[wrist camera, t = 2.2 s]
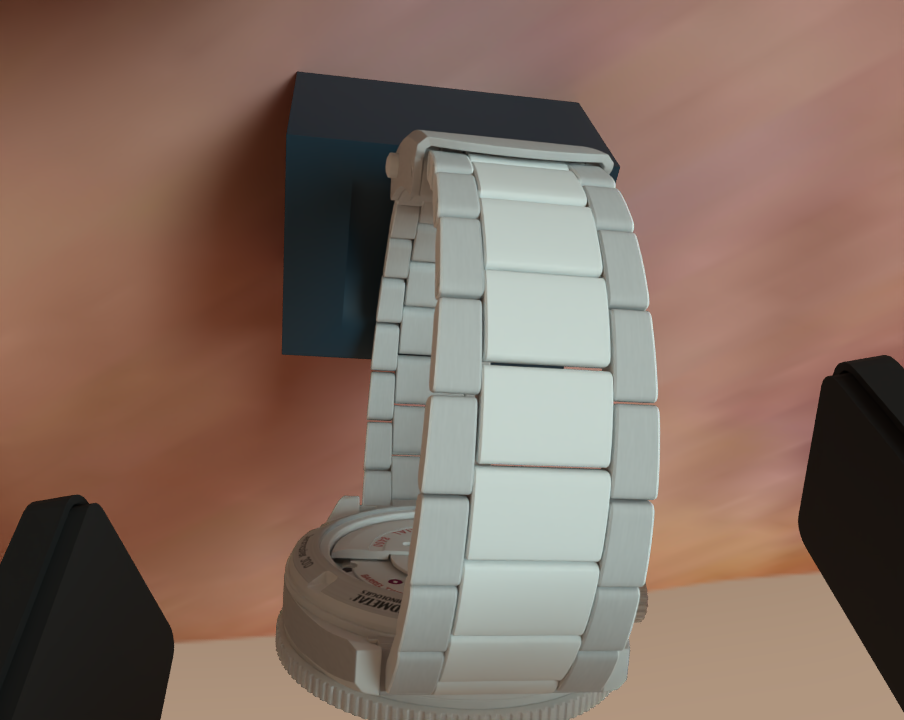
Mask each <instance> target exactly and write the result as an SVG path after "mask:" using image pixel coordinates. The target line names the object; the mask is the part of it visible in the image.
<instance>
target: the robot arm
mask: <svg viewBox="0 0 904 720" xmlns="http://www.w3.org/2000/svg"><path fill="white" fill-rule="evenodd" d="M798 525H799V531H800V535H801V538H802V541H803V543H804V545H805V547H806V549H807V550H808V552H809V554H810V555H811V557H812V559H813V560H814V562H815V564H816V565H817V567H818V569H819V570H820V572H821V574H822V575H823V577H824V579H825V580H826V582H827V584H828V585H829V587H830V589H831V590H832V592H833V594H834V596H835V597H836V599H837V601H838V602H839V604H840V606H841V607H842V609H843V611H844V612H845V614H846V616H847V618H848V619H849V621H850V623H851V624H852V626H853V627H854V629H855V631H856V633H857V634H858V636H859V638H860V639H861V641H862V643H863V644H864V646H865V648H866V650H867V651H868V653H869V655H870V656H871V658H872V660H873V661H874V663H875V664H876V666H877V668H878V670H879V671H880V673H881V675H882V676H883V678H884V680H885V681H886V683H887V685H888V686H889V688H890V690H891V692H892V693H893V695H894V697H895V698H896V700H897V701H898V703H899V705H900V707H901V708H902V710H903V712H904V368H903V367H902V366H901V365H900V364H899V363H898V362H897V361H896V360H895V359H893V358H892V357H891V356H887V355H882V356H876V357H870V358H864V359H859V360H853V361H847V362H842V363H839V364H838V365H837V366H836V368H835V370H834V373H833V376H828V377H825V379H824V380H823V382H822V386H821V391H820V397H819V403H818V408H817V414H816V420H815V425H814V431H813V437H812V442H811V448H810V454H809V459H808V465H807V471H806V476H805V482H804V488H803V494H802V499H801V505H800V511H799V516H798ZM173 653H174V639H173V633H172V630H171V627H170V625H169V623H168V622H167V620H166V618H165V616H164V615H163V613H162V611H161V609H160V608H159V606H158V604H157V602H156V601H155V599H154V597H153V595H152V594H151V592H150V590H149V588H148V587H147V585H146V583H145V581H144V580H143V578H142V576H141V575H140V573H139V571H138V569H137V568H136V566H135V564H134V562H133V561H132V559H131V557H130V555H129V554H128V552H127V550H126V548H125V547H124V545H123V543H122V541H121V540H120V538H119V536H118V534H117V533H116V531H115V529H114V527H113V526H112V524H111V522H110V520H109V519H108V517H107V515H106V514H105V512H104V510H103V509H102V507H101V506H100V505H99V504H97V503H91V504H89V503H88V502H87V500H86V499H85V498H84V497H82V496H81V495H71V496H65V497H59V498H53V499H48V500H42V501H36V502H32V503H31V504H29V505H28V506H27V507H26V509H25V511H24V512H23V514H22V517H21V519H20V521H19V523H18V526H17V528H16V530H15V532H14V535H13V537H12V539H11V541H10V543H9V546H8V548H7V550H6V552H5V555H4V557H3V559H2V561H1V564H0V720H160V719H161V714H162V709H163V704H164V699H165V694H166V689H167V683H168V679H169V674H170V669H171V664H172V659H173Z"/></svg>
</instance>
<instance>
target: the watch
mask: <svg viewBox="0 0 904 720" xmlns="http://www.w3.org/2000/svg"><path fill="white" fill-rule="evenodd" d="M619 169H620V166H619V164H618V163H617V161H616V160H615V158H614V157H613V155H612V154H611V152H610V150H609V149H608V147H607V146H606V144H605V143H604V141H603V140H602V138H601V137H600V135H599V133H598V132H597V130H596V129H595V127H594V126H593V124H592V123H591V121H590V120H589V118H588V116H587V115H586V113H585V112H584V110H583V109H582V107H581V106H580V104H579V103H576V102H567V101H558V100H549V99H540V98H531V97H522V96H513V95H504V94H494V93H485V92H476V91H467V90H458V89H449V88H440V87H431V86H422V85H413V84H404V83H395V82H386V81H377V80H368V79H359V78H350V77H341V76H332V75H323V74H314V73H305V72H297V76H296V82H295V87H294V93H293V99H292V105H291V111H290V116H289V122H288V128H287V134H286V180H285V228H284V277H283V325H282V354H283V355H302V356H320V357H339V358H358V359H371V370H382V371H395V374H394V373H392V372H373V371H372V372H371V378H370V388H369V398H368V408H367V420H383V421H391V420H392V423H384V422H368V423H367V431H366V443H365V456H364V469H363V470H364V471H365V472H364V482H363V496H362V505H360V504H359V496H343V497H342V498H341V499H340V500H339V501H338V503H337V504H336V506H335V508H334V510H333V511H332V513H331V515H330V516H329V518H328V520H327V522H326V523H324V524H322V525H321V526H320V528H317V529H313V530H311V531H309V532H308V533H307V534H305V535H304V536H303V537H302V538H301V539H300V540H299V541H298V542H297V544H296V545H295V547H294V549H293V551H292V552H291V554H290V556H289V558H288V560H287V562H286V566H285V574H284V592H283V607H282V610H281V611H280V614H279V616H278V619H277V624H276V651H277V652H278V656H279V660H280V661H281V662H282V665H283V666H284V668H285V670H287V671H288V674H289V675H292V678H293V679H295V680H296V682H297V683H298V684H301V687H303V688H305V689H307V691H308V692H310V693H313V695H314V696H315V697H319V698H320V700H322V701H326V702H327V703H328V704H329V705H333V706H335V708H338V709H342V710H343V711H344V712H348V713H351V714H352V715H354V716H359V717H361V718H363V719H368V720H569V719H570V718H575V717H576V716H577V715H582V714H583V712H587V711H589V710H590V708H594V707H595V705H596V704H599V703H600V702H601V701H602V700H604V699H605V697H607V696H608V695H609V693H610V692H612V691H613V690H617V689H618V688H620V686H621V685H622V684H623V683H624V682H625V681H626V680H627V672H628V664H629V654H630V646H629V639H628V638H629V636H630V632H631V630H632V626H633V623H634V622H641V621H642V620H643V619H644V617H645V615H646V612H647V607H648V596H647V587H646V582H645V580H646V575H647V569H648V563H649V557H650V549H651V542H652V533H653V524H654V506H653V504H652V503H651V502H649V501H648V500H654V499H656V498H657V495H658V484H659V462H660V415H659V409H658V408H657V407H656V406H655V405H636V404H613V401H618V402H639V403H654V402H656V400H657V397H658V386H657V367H656V354H655V343H654V333H653V325H652V318H651V314H650V313H649V312H648V311H645V310H646V309H647V308H648V306H649V293H648V287H647V281H646V276H645V270H644V266H643V261H642V256H641V252H640V248H639V244H638V240H637V237H636V235H635V234H634V233H633V230H634V223H633V219H632V217H631V214H630V212H629V209H628V207H627V204H626V202H625V200H624V198H623V196H622V194H621V193H620V191H619V190H618V189H616V188H615V183H616V180H617V176H618V173H619ZM564 366H567V367H585V368H602V371H591V370H573V369H564ZM394 403H400V404H422V405H426V406H425V407H420V406H398V405H394ZM392 455H420V457H416V456H392ZM491 464H508V465H538V466H567V467H597V468H601V469H584V468H554V467H524V466H494V465H491Z"/></svg>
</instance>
